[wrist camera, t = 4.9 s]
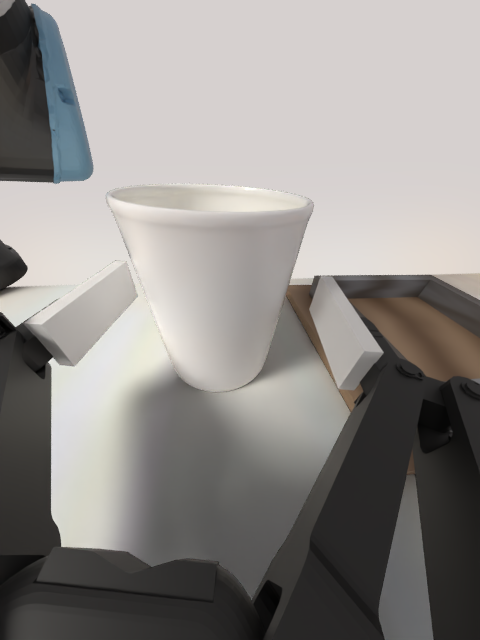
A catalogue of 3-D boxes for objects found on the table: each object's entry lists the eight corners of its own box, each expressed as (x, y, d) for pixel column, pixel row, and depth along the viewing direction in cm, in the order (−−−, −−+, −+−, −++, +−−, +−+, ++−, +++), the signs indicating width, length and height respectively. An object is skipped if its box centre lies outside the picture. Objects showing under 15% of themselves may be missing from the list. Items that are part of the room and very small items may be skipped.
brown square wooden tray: (387, 477, 11) (429, 457, 8) (284, 291, 26) (289, 267, 24) (653, 439, 13) (740, 416, 11) (414, 289, 28) (430, 267, 26)
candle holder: (282, 330, 20) (317, 193, 12) (258, 424, 13) (307, 227, 5) (197, 309, 22) (183, 181, 15) (135, 378, 15) (41, 193, 7)
